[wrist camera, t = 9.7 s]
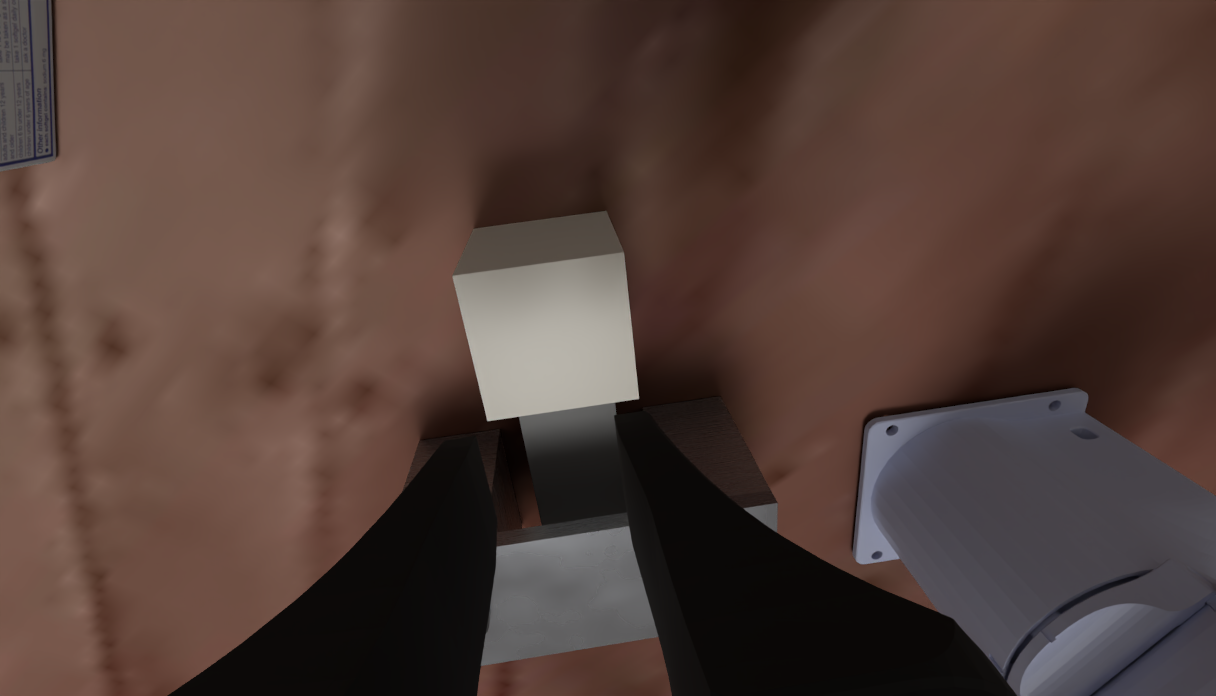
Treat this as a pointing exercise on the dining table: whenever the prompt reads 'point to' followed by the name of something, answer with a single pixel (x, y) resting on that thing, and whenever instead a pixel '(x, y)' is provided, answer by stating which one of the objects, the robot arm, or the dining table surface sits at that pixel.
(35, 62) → the medicine box
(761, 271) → the dining table surface
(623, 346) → the plug
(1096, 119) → the dining table surface
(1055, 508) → the robot arm
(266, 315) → the dining table surface
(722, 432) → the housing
